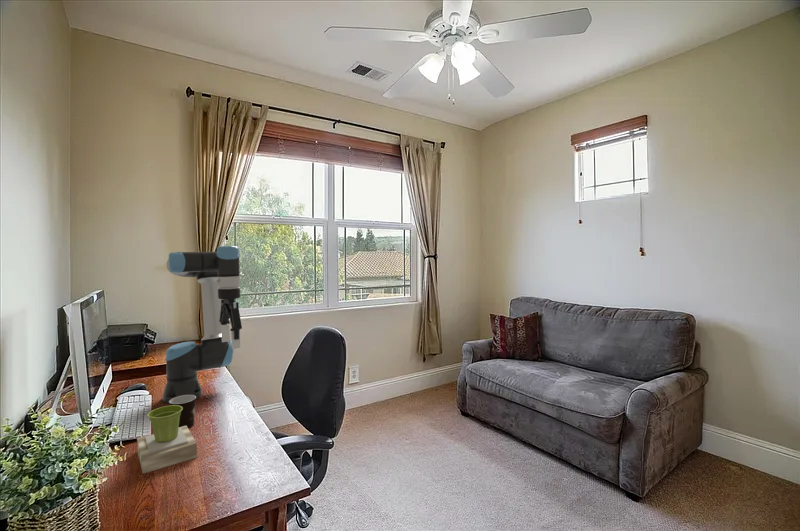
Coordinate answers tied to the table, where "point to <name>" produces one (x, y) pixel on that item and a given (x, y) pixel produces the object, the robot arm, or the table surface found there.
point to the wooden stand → (166, 450)
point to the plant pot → (165, 422)
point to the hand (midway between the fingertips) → (230, 344)
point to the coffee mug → (185, 409)
